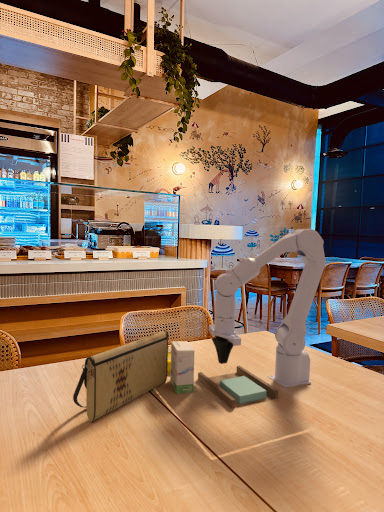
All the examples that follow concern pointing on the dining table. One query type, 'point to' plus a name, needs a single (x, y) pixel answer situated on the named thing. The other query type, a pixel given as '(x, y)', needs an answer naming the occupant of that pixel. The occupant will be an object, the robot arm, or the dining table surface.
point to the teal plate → (243, 389)
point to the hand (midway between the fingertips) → (222, 362)
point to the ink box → (182, 367)
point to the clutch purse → (123, 374)
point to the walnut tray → (214, 382)
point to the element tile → (169, 360)
